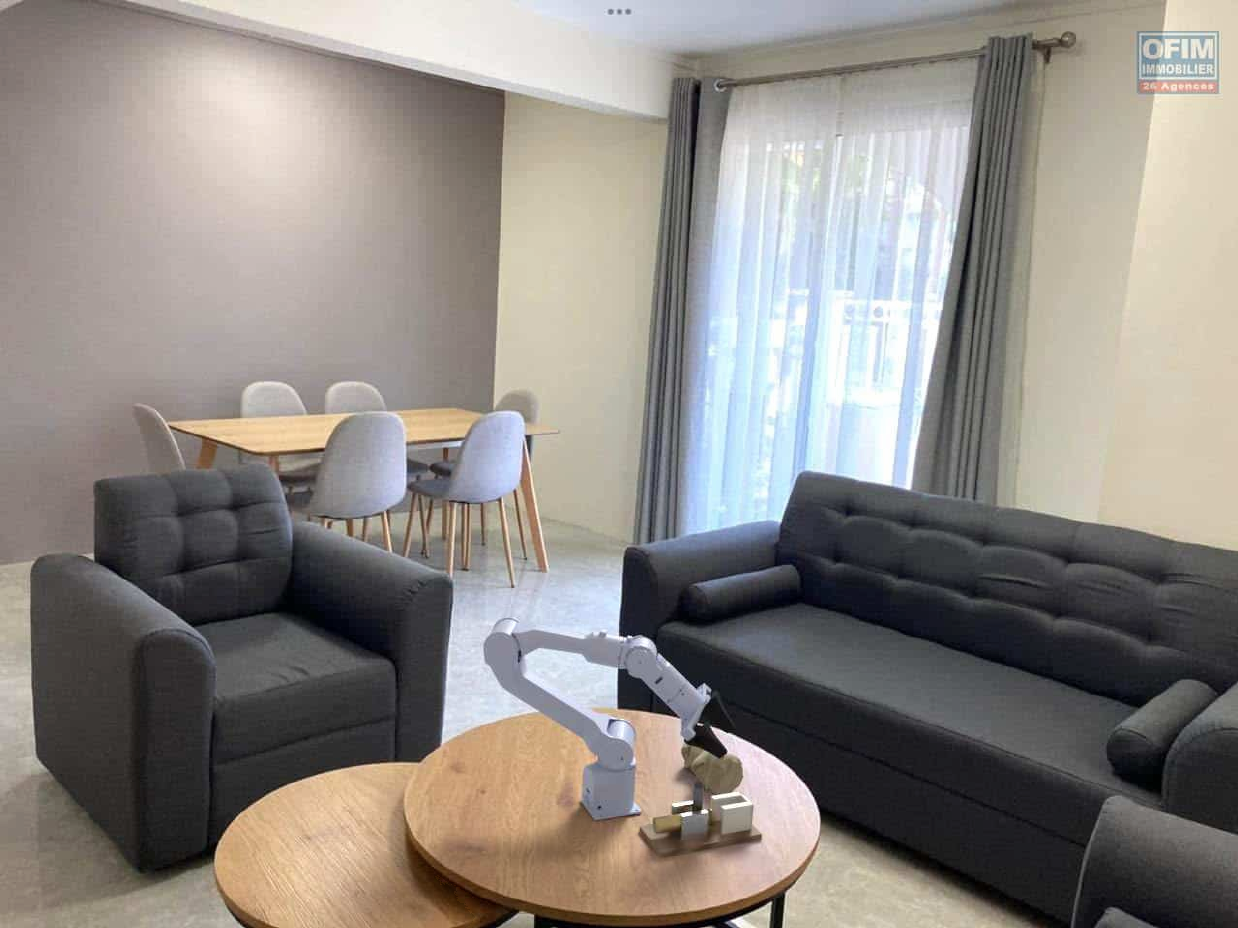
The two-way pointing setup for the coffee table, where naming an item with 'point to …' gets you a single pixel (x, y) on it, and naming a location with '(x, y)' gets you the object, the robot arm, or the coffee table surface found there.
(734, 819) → the socket block
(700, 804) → the brass bolt
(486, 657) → the robot arm
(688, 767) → the sculpture
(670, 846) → the guide board
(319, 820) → the coffee table surface
